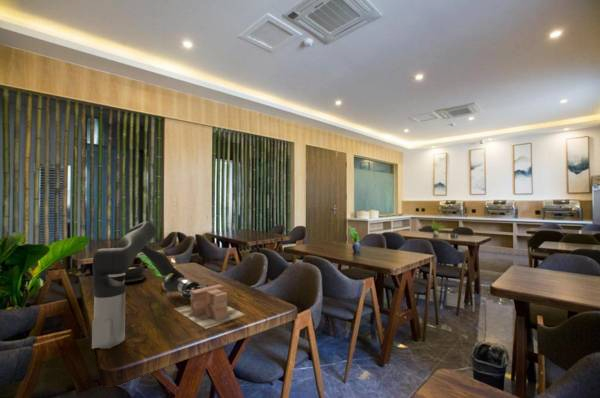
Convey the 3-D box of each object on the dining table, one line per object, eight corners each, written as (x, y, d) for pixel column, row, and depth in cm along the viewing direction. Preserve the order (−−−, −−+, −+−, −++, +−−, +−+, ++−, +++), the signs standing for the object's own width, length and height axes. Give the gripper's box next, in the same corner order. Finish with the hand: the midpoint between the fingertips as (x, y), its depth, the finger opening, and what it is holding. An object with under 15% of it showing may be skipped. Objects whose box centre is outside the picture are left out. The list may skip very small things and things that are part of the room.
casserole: (108, 278, 181) (108, 265, 181) (140, 273, 194) (140, 261, 194) (115, 287, 163) (116, 272, 163) (151, 281, 175) (151, 267, 175)
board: (173, 310, 129) (173, 308, 129) (211, 300, 143) (211, 298, 143) (205, 330, 109) (205, 328, 109) (245, 316, 123) (245, 314, 123)
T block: (190, 313, 123) (190, 291, 123) (218, 305, 133) (219, 284, 133) (206, 323, 114) (206, 298, 114) (235, 313, 124) (236, 290, 124)
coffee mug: (115, 296, 147) (116, 277, 147) (102, 295, 149) (102, 276, 149) (133, 289, 158) (133, 272, 158) (120, 288, 160) (120, 271, 160)
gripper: (174, 283, 134) (190, 290, 123) (202, 277, 145) (219, 283, 134) (174, 299, 134) (190, 307, 123) (202, 292, 144) (219, 299, 133)
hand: (205, 295), depth 128 cm, fingers open, 8 cm apart
